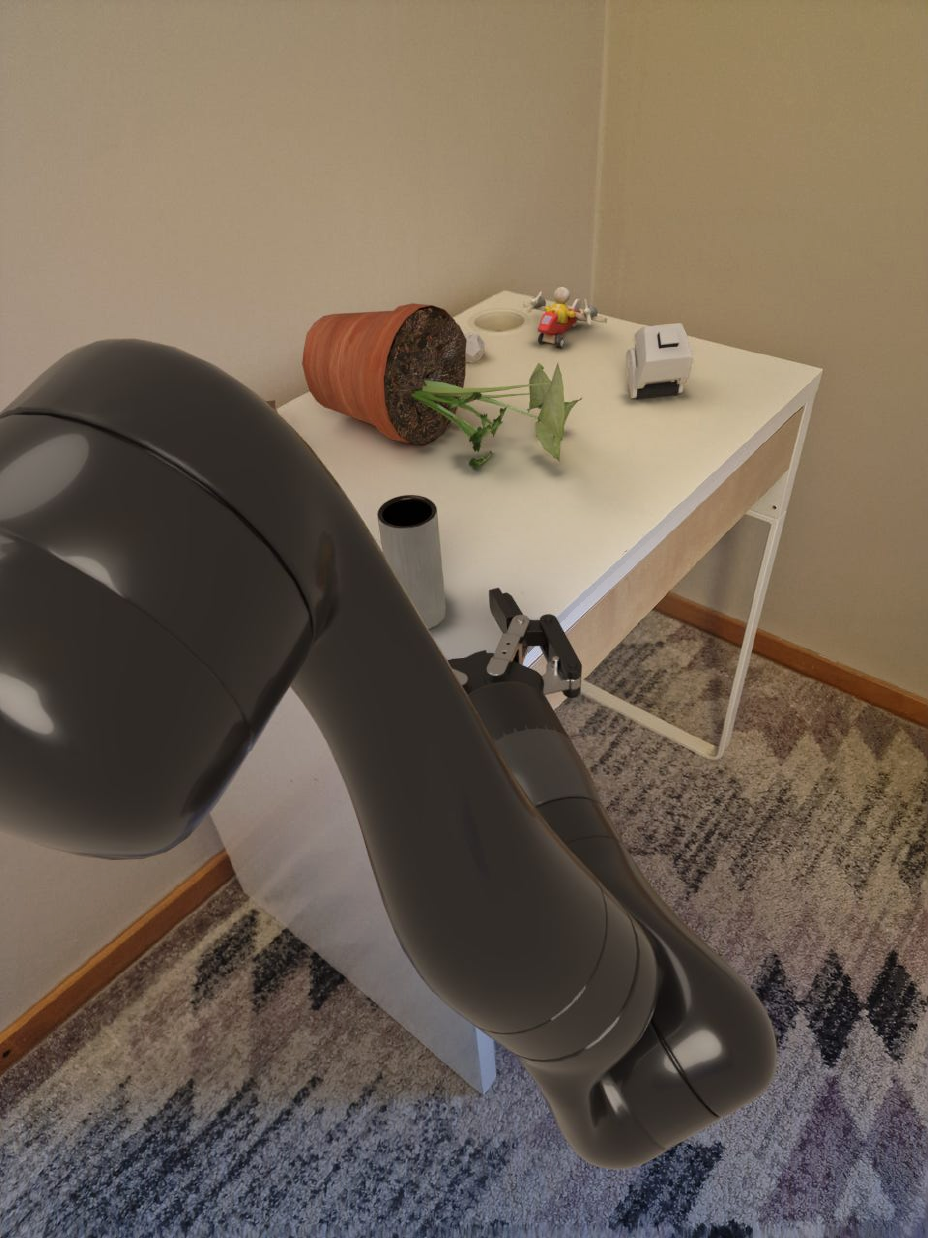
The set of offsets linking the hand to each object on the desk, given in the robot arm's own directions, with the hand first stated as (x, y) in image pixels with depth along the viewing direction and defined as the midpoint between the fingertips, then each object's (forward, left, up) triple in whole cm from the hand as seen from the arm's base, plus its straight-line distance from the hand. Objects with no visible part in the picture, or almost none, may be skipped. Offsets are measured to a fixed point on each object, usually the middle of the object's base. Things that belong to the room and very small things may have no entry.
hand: (437, 611), depth 62 cm
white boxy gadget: (+30, +40, -6) cm, 50 cm away
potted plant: (+7, +34, -6) cm, 35 cm away
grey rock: (+11, +55, -6) cm, 56 cm away
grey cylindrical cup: (-1, +7, -6) cm, 9 cm away
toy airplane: (+24, +59, -6) cm, 64 cm away
